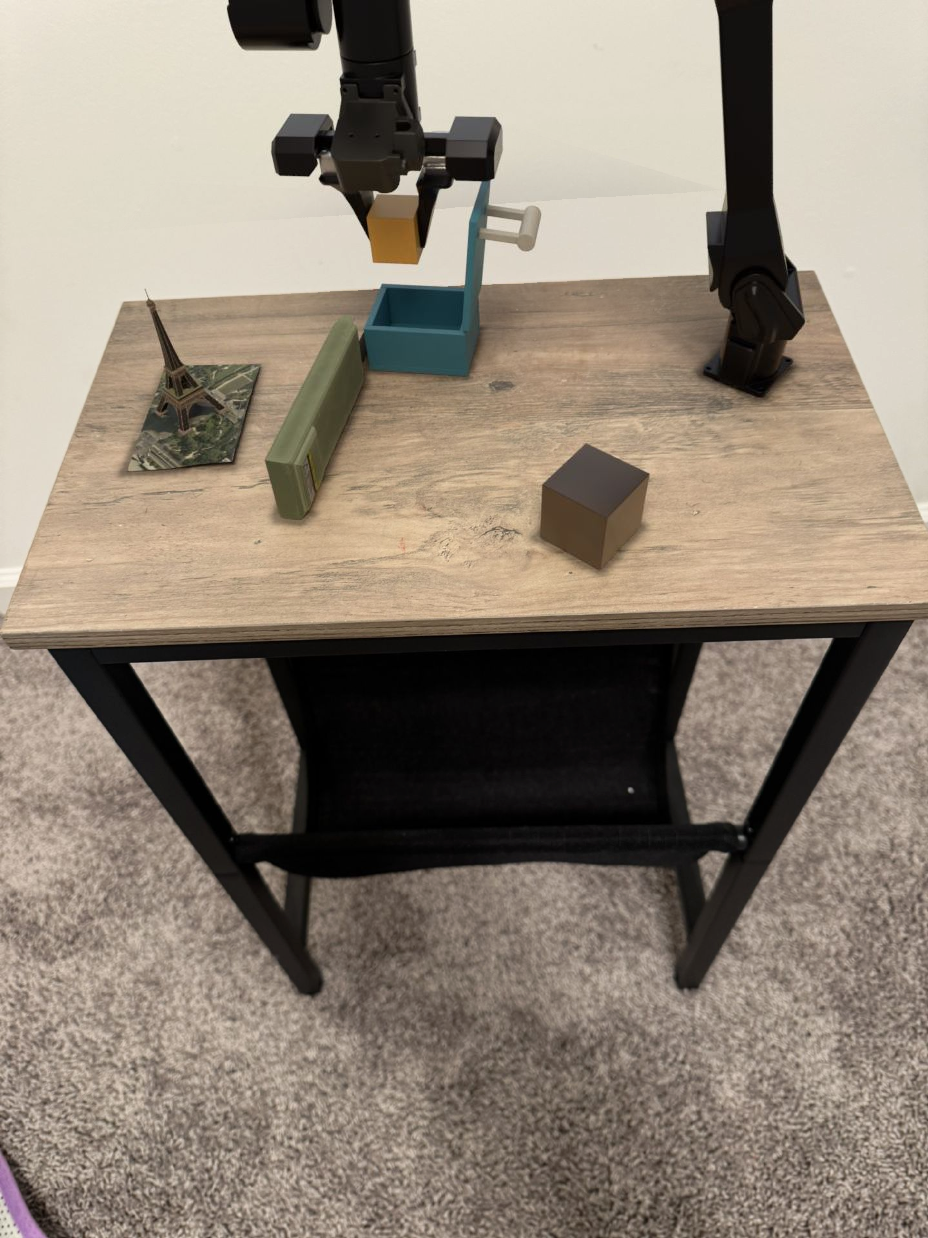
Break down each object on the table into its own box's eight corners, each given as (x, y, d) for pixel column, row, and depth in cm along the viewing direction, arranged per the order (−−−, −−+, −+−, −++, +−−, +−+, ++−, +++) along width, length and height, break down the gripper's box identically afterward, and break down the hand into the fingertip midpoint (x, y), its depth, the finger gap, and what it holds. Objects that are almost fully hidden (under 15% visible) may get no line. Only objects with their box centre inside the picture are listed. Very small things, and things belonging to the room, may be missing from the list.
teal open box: (369, 370, 83) (363, 328, 80) (387, 323, 88) (381, 283, 84) (467, 376, 82) (465, 334, 78) (479, 329, 87) (478, 287, 83)
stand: (580, 496, 71) (585, 442, 66) (640, 526, 69) (650, 473, 64) (539, 537, 69) (541, 484, 64) (600, 570, 66) (607, 518, 61)
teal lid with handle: (468, 220, 69) (536, 230, 69) (483, 175, 74) (546, 184, 74) (461, 330, 78) (521, 339, 78) (474, 283, 83) (531, 292, 82)
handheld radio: (272, 516, 71) (353, 344, 86) (309, 522, 71) (384, 348, 86) (256, 458, 66) (345, 285, 81) (295, 464, 66) (378, 289, 80)
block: (382, 238, 78) (376, 193, 74) (426, 240, 77) (422, 194, 74) (372, 262, 75) (366, 217, 72) (417, 264, 75) (413, 218, 71)
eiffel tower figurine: (236, 468, 75) (191, 340, 65) (126, 471, 76) (64, 345, 65) (261, 367, 84) (225, 240, 74) (163, 370, 85) (114, 245, 74)
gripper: (226, 90, 60) (276, 289, 72) (481, 94, 57) (487, 299, 70) (272, 33, 66) (310, 224, 79) (502, 34, 64) (504, 231, 76)
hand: (399, 244), depth 76 cm, fingers closed on block, 4 cm apart
